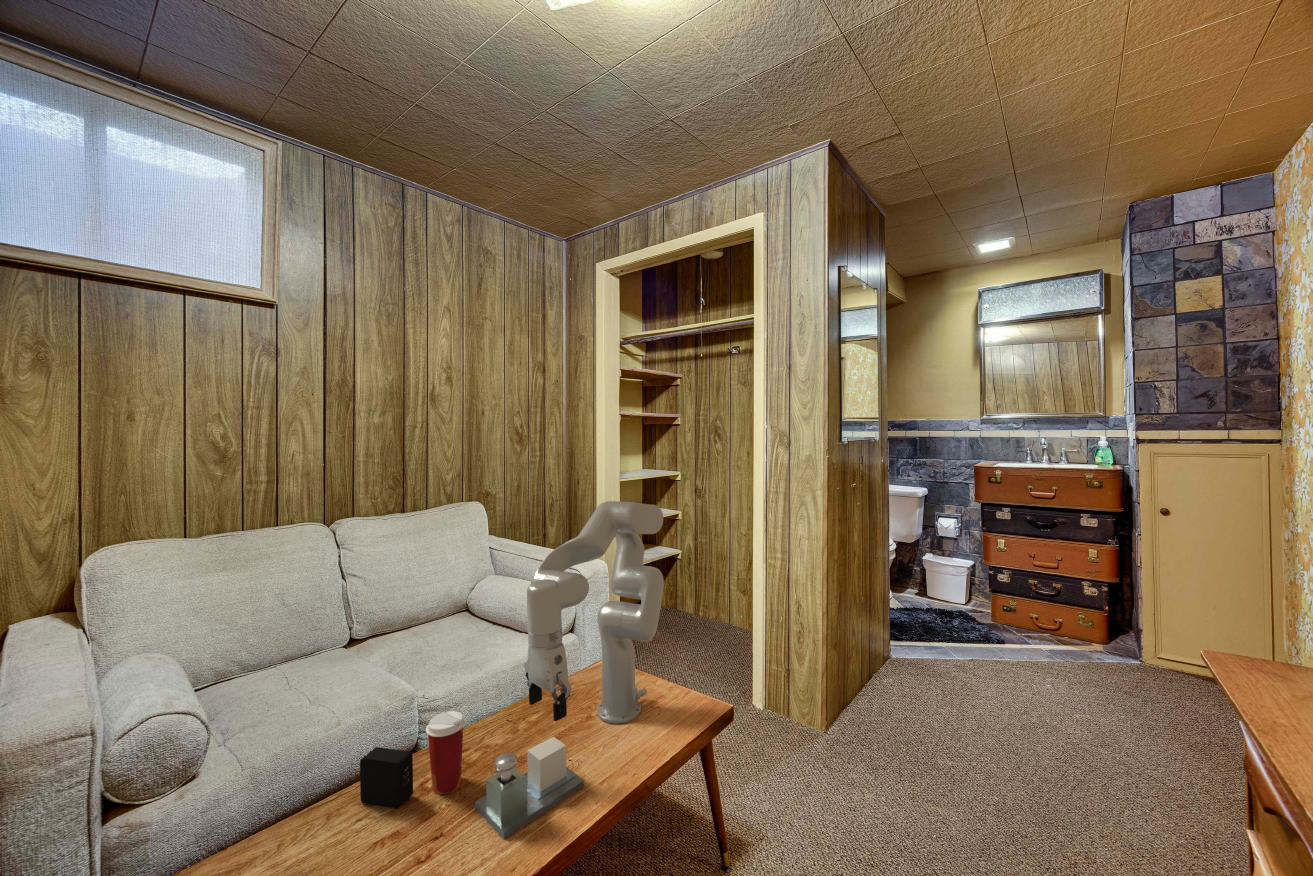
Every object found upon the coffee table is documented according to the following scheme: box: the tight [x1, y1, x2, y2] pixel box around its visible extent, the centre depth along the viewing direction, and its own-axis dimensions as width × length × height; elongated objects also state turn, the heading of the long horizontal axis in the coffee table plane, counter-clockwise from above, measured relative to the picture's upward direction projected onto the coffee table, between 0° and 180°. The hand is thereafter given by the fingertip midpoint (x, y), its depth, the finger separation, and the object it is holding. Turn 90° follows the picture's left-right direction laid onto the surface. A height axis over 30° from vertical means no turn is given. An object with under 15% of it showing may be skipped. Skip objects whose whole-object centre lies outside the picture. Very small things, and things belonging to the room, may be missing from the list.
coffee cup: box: [425, 710, 466, 795], centre depth 115 cm, size 8×8×15 cm
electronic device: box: [359, 746, 414, 810], centre depth 110 cm, size 4×10×10 cm, turn 78°
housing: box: [526, 736, 567, 792], centre depth 114 cm, size 7×5×7 cm
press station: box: [474, 766, 585, 840], centre depth 110 cm, size 20×12×8 cm, turn 136°
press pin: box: [494, 752, 518, 786], centre depth 105 cm, size 4×4×6 cm
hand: (547, 710), depth 114 cm, fingers open, 9 cm apart
